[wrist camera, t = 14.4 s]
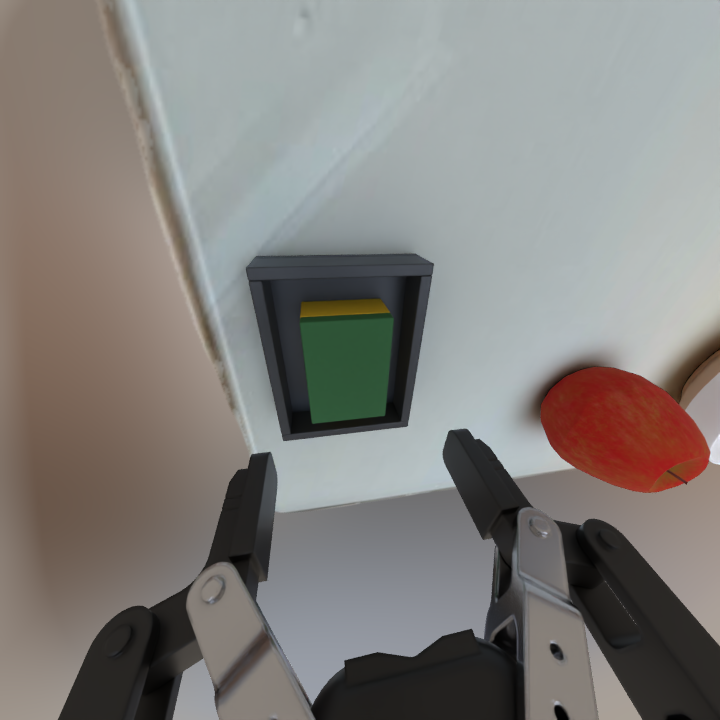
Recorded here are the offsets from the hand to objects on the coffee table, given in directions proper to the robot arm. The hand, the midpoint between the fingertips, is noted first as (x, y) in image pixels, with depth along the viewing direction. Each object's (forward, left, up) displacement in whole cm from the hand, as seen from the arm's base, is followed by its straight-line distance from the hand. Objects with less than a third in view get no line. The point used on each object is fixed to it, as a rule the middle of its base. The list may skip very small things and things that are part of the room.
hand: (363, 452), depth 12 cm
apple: (+24, +12, -11) cm, 28 cm away
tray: (0, 0, -10) cm, 10 cm away
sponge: (0, 0, -10) cm, 10 cm away
